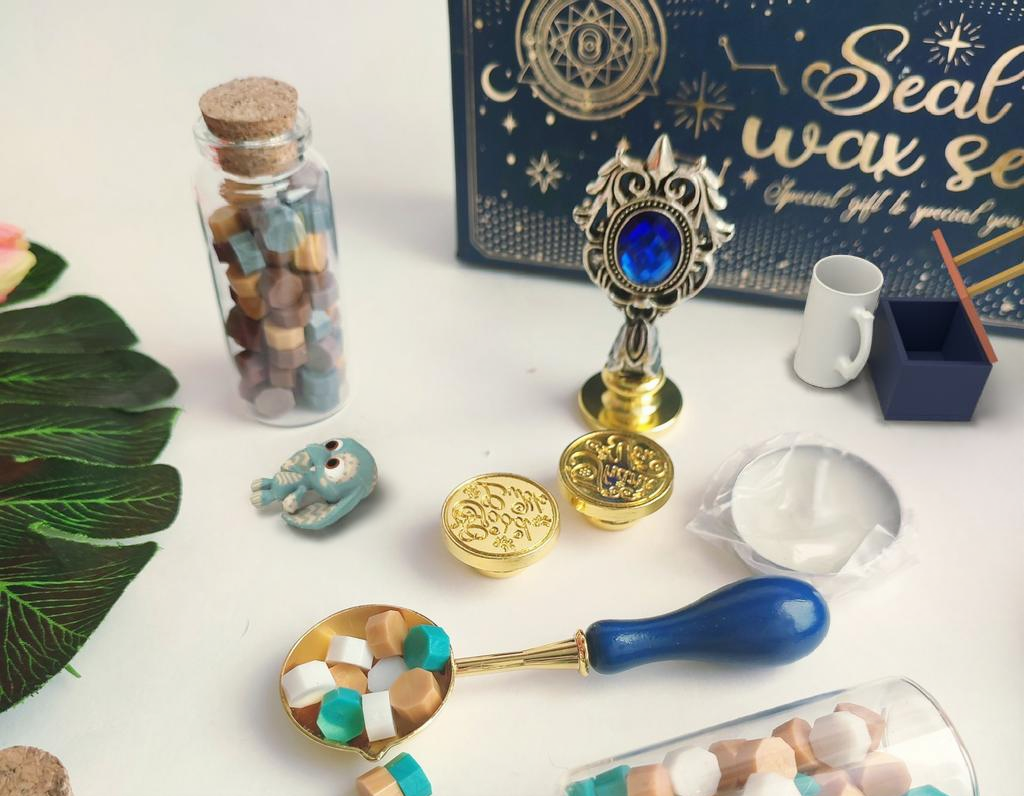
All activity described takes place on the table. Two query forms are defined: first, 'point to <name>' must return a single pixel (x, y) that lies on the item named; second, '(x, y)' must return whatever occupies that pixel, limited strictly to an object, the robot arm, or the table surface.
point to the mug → (837, 321)
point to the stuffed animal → (320, 482)
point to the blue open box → (926, 359)
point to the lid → (980, 287)
